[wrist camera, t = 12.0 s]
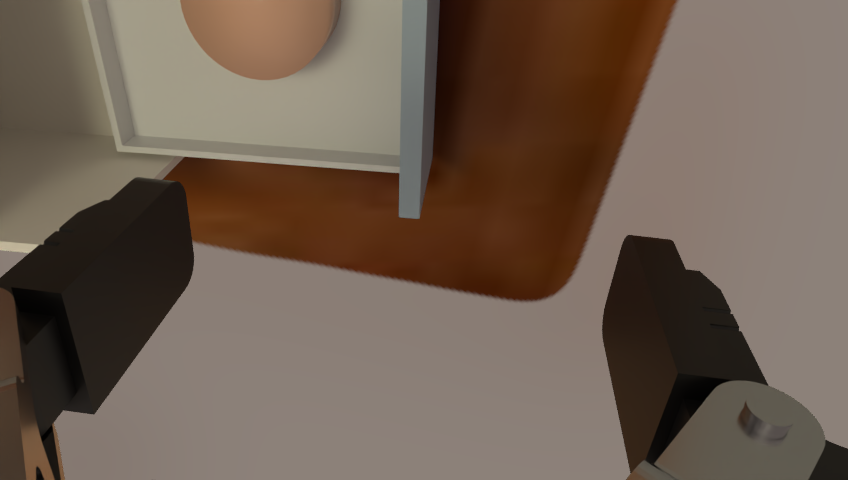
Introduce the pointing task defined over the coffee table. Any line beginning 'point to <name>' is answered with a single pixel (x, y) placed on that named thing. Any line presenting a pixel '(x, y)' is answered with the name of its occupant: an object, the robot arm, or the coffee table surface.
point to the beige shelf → (55, 124)
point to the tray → (277, 92)
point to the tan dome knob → (261, 33)
